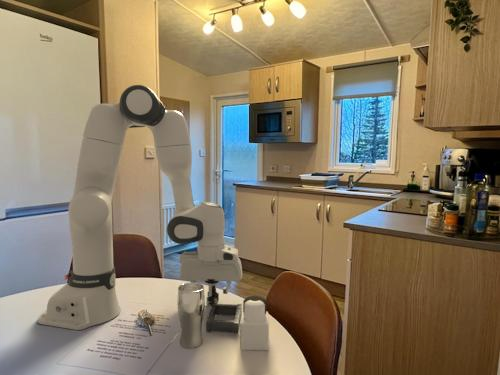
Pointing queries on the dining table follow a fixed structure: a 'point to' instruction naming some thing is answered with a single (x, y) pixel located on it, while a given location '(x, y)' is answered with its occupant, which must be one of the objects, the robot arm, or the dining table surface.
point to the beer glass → (191, 314)
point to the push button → (212, 292)
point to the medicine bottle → (254, 324)
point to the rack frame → (224, 325)
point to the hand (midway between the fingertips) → (211, 292)
